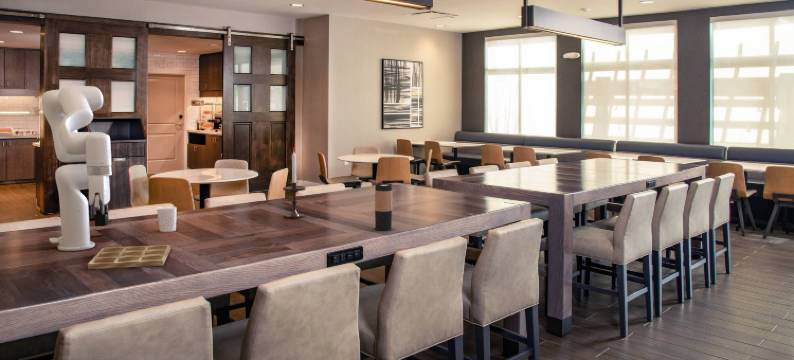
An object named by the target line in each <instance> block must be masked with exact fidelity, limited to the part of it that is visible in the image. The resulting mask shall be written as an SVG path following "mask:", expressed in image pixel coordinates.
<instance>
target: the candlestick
mask: <svg viewBox="0 0 794 360" xmlns="http://www.w3.org/2000/svg"><path fill="white" fill-rule="evenodd" d="M295 150H296V145H294V146H293V148H292V154H291V181H290V182H289V183H291V185H288V186H283V187H282V190H283V191H285V192H291V194H292V200H291V204H292V206H291V208H292V212H291V213H287V214H285V215H284V217H285V219H290V220H291V219H292V220H293V219H294V220H295V219H296V220H297V219H303V218H305V214H304V213H298V212H297V207H298V206H297V204H298V200H297V193H298V192H303V191H306V189H307V188H306V186H302V185H297V183H299V182H298V181H297V154H296V153H295V152H296V151H295Z"/></svg>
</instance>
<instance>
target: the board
mask: <svg viewBox="0 0 794 360" xmlns="http://www.w3.org/2000/svg"><path fill="white" fill-rule="evenodd" d="M170 252H171V244H160V245H139V246H135V245H133V246H115V247H112V246H111V247H102V248H101V249H100V250H99V251H98V252H97V253H96V254H95V256H93V258H92V259H91V260H90V261H89V262H88V263H87V270H102V269H103V270H104V269H122V268H123V269H125V268H142V267H143V268H145V267H162V266H164V265H165V262H166V261H167V259H168V255H169V254H170Z"/></svg>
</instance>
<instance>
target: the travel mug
mask: <svg viewBox="0 0 794 360" xmlns="http://www.w3.org/2000/svg"><path fill="white" fill-rule="evenodd" d="M374 223H375V226H374V227H375V228H374V229H375V231H379V232H387V231H388V232H389V231H391V230H392V229H393V228H392V226H393V184H392V183H389V184H386V183H375V186H374Z"/></svg>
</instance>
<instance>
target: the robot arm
mask: <svg viewBox="0 0 794 360" xmlns="http://www.w3.org/2000/svg"><path fill="white" fill-rule="evenodd" d="M103 105H104V94H103V93H102V91H101V89H99V88H98V87H97V86H92V85H67V86H64V87H62V88H61V89H51V90H47V91H45V92H44V93H43V94H42V95H41V106H42V111H43V114H44V116H45V118H46V120H47V122H48V124H49V126H50V128H51V133H52V139H53V144H54V150H55V155H56V158H57V160H58V161H60V162H61V163H73V164H65V165H64V164H63V165H61V166H59V167H58V168H56V170H55V172H54V178H55V182H56V187H57V191H58V192H57V193H58V198H59V199H58V201H59V214H60V230H61V231H60V232H61V233H60V234H61V236H59V237H49V240H48V241H49V244H58V245H57V250H59V251H61V252H77V251H85V250H89V249H92V248H95V246H96V243H95V242H94V241H92V240H91V233H90V232H91V231H90V215H89V214H90V210H89V206H90V207H92V206H93V207H94V227H106V226H105V225H106V218H105V214H108V215H109V207H108V203H109V202H110V200H111V187H110V176H112V175H113V170H112V169H113V168H112V150H111V149H112V146H111V138H110V135H109V134H108V133H107V134H106V133H105V132H103V131H102V132H101V131H78V130H79V129H83V128H84V127H86V126H89V124H91V122H92V121H93V119H94V113H93V112H96V111H98V110H100V109H101V108H103ZM74 163H76V164H74ZM82 190H88V197H86V196H85V194H83V193H82V192H81V191H82ZM87 198H88V199H87ZM109 221H110V219H109V216H108V224H109Z"/></svg>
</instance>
